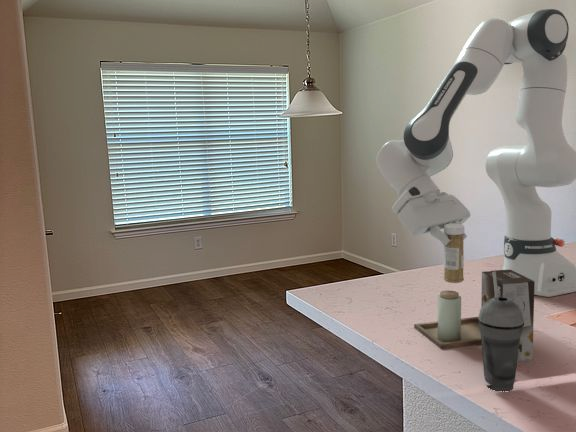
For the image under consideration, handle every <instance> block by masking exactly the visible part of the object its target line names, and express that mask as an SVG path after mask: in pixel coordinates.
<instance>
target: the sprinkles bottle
mask: <svg viewBox="0 0 576 432" xmlns="http://www.w3.org/2000/svg"><path fill="white" fill-rule="evenodd" d="M443 233H444V234H446V235H449V236H450V238H451V239H452V242H451V243H450V244H448V245H443V268H444V269H443V270H444V273H443V280H444V281H445V282H447V283H451V284H458V283H462V282H464V281H465V277H464V266H465V263H464V257H465V255H464V240H463V237H464V236H463V235H464V233H465V225H464V224H456V223H451V224H445V225H444V229H443Z"/></svg>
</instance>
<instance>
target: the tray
mask: <svg viewBox="0 0 576 432" xmlns="http://www.w3.org/2000/svg"><path fill="white" fill-rule="evenodd" d="M478 317H479V316H472V317H465V318H464V317H463V318H461V341H453V342H441V341H439V340H438V320H437V321H431V322H422V323H414V324H413V328H414V329H415V330H416V331H417V332H419V333H420V334H421V335H423V336H424V337H425V338H426V339H428V340H429V341H430V342H431V343H433V344H434V345H435V346H437V347H438V348H439V349H440V350H443V349H450V348H458V347H465V346H466V347H467V346H474V345H481V332H480V329H479V322H478Z"/></svg>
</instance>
